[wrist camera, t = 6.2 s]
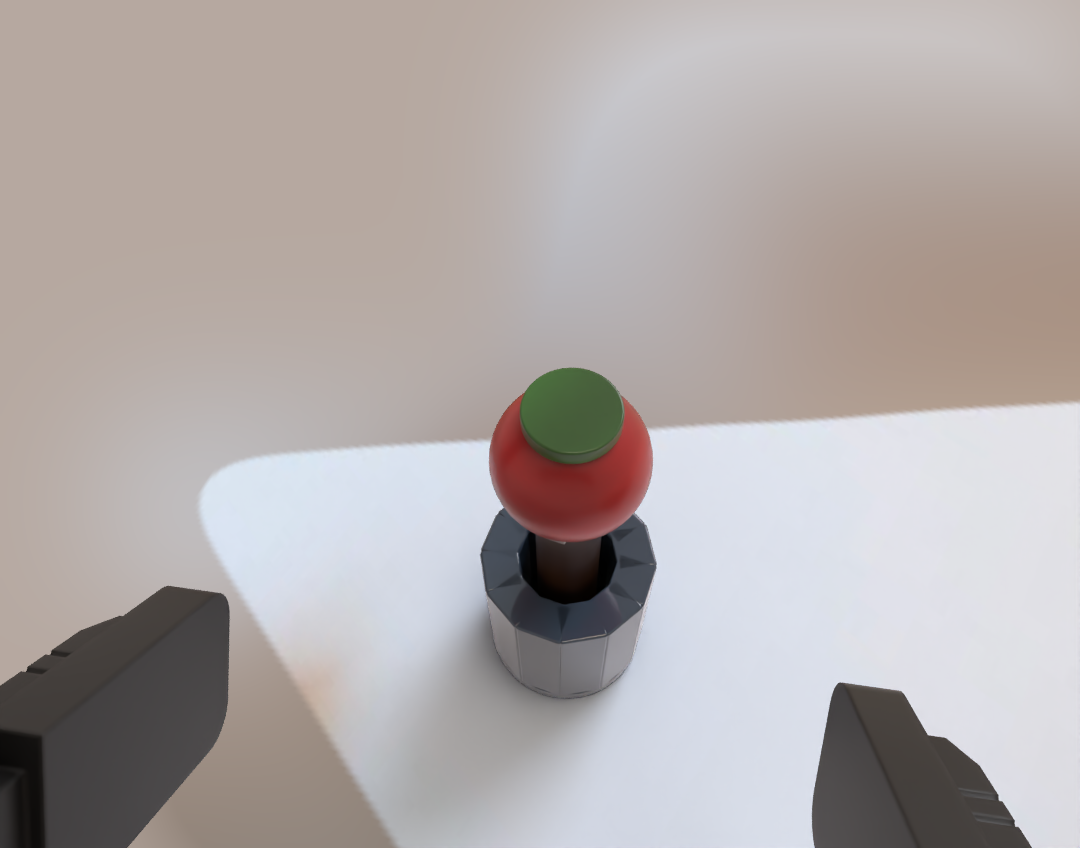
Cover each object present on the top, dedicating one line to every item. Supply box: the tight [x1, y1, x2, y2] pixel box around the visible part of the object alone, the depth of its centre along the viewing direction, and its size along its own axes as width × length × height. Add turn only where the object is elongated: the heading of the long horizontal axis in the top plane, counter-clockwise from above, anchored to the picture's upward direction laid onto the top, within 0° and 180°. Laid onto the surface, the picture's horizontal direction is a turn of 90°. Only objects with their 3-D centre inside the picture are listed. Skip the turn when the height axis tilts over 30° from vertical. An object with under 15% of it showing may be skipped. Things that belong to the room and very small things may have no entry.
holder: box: [480, 508, 657, 698], centre depth 24 cm, size 4×4×5 cm
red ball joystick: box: [489, 368, 653, 604], centre depth 21 cm, size 3×3×11 cm
